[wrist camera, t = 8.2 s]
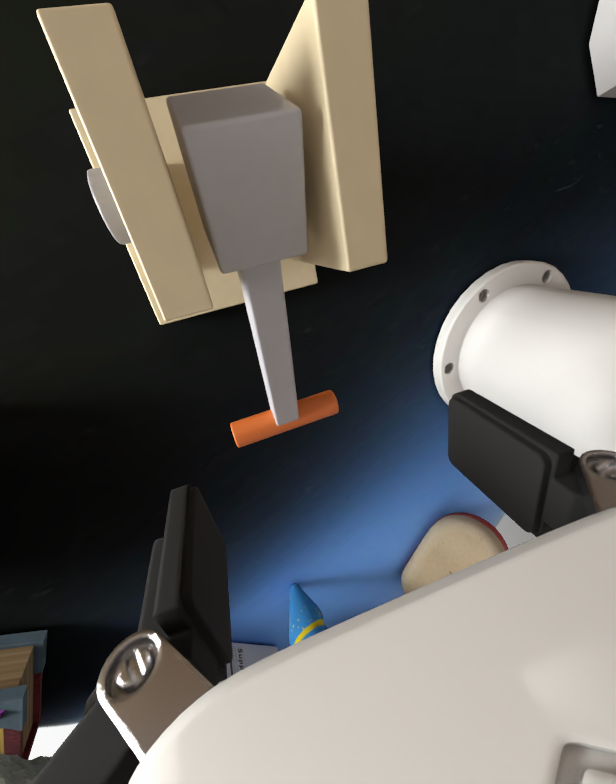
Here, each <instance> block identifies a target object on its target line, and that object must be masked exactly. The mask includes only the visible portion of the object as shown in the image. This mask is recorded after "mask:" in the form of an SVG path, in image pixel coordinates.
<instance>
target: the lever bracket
mask: <svg viewBox="0 0 616 784" xmlns="http://www.w3.org/2000/svg"><path fill="white" fill-rule="evenodd" d="M37 16H38V19H39V21H40V23H41V26H42V28H43V31H44V33H45V35H46V38H47V40H48V43H49V45H50V47H51V50H52V52H53V55H54V57H55V59H56V62H57V64H58V67H59V69H60V71H61V74H62V76H63V79H64V81H65V83H66V86H67V88H68V91H69V93H70V95H71V98H72V100H73V103H74V105H75V107H76V108H73V109H70V110H69V113H70V115H71V117H72V120H73V122H74V124H75V127H76V129H77V131H78V134H79V136H80V138H81V141H82V143H83V146H84V148H85V150H86V153H87V155H88V157H89V160H90V162H91V164H92V167H93V169H89V170H88V171H87V178H88V183H89V186H90V189H91V192H92V195H93V198H94V200H95V203H96V205H97V207H98V209H99V212H100V214H101V216H102V218H103V220H104V222H105V224H106V225H107V227H108V229H109V231H110V232H111V234H112V235H113V237H114V238H115V239H116V240H117V242H118V243H120V244H126V246H127V249H128V251H129V254H130V256H131V258H132V261H133V263H134V265H135V268H136V270H137V272H138V275H139V277H140V279H141V282H142V284H143V286H144V289H145V291H146V293H147V296H148V298H149V300H150V303H151V305H152V307H153V310H154V312H155V315H156V317H157V319H158V322H159V324H160V325H163V324H167V323H171V322H174V321H178V320H182V319H186V318H189V317H193V316H197V315H201V314H204V313H208V312H212V311H215V310H219V309H223V308H227V307H230V306H234V305H238V304H241V303H245V300H244V296H243V292H242V288H241V283H240V279H239V275H238V271H235V272H231V273H227V274H223V273H222V272H221V271H220V269H219V266H218V264H217V261H216V259H215V256H214V254H213V251H212V248H211V246H210V243H209V241H208V238H207V235H206V233H205V230H204V228H203V224H202V221H201V218H200V214H199V211H198V207H197V204H196V201H195V197H194V194H193V191H192V187H191V184H190V181H189V177H188V174H187V171H186V167H185V164H184V160H183V157H182V154H181V150H180V147H179V144H178V140H177V137H176V134H175V130H174V127H173V123H172V120H171V117H170V113H169V110H168V107H167V103H166V99H167V98H168V97H169V96H175V95H182V94H189V93H196V92H203V91H210V90H217V89H224V88H231V87H238V86H245V85H253V84H260V83H263V84H266V85H267V86H269V87H270V88H271V89H273V90H274V91H276V92H277V93H279V94H280V95H282V96H283V97H284V98H286V99H287V100H289V101H290V102H292V103H293V104H294V105H296V106H297V107H299V108H300V109H301V112H302V128H303V150H304V172H305V194H306V217H307V239H308V252H307V253H306V254H303V255H299V256H295V257H291V258H287V259H283V260H280V262H281V270H282V278H283V287H284V292H286V291H290V290H294V289H297V288H301V287H305V286H308V285H312V284H316V283H318V280H317V275H316V269H315V265H319V266H324V267H329V268H333V269H338V270H343V271H347V272H352V271H356V270H359V269H363V268H367V267H371V266H374V265H378V264H382V263H385V262H386V261H387V249H386V235H385V222H384V208H383V195H382V181H381V168H380V154H379V141H378V127H377V114H376V100H375V87H374V73H373V60H372V46H371V33H370V20H369V6H368V0H305V1H304V3H303V5H302V7H301V10H300V12H299V14H298V16H297V18H296V20H295V22H294V24H293V26H292V29H291V31H290V33H289V35H288V37H287V39H286V41H285V43H284V46H283V48H282V50H281V52H280V54H279V56H278V58H277V60H276V63H275V65H274V67H273V69H272V71H271V73H270V75H269V77H268V80H267V81H264V82H257V83H250V84H243V85H235V86H228V87H221V88H214V89H207V90H200V91H193V92H186V93H179V94H172V95H165V96H158V97H151V98H144V95H143V92H142V90H141V87H140V84H139V81H138V78H137V75H136V72H135V69H134V66H133V63H132V61H131V58H130V55H129V52H128V49H127V46H126V43H125V40H124V37H123V34H122V31H121V29H120V26H119V23H118V20H117V17H116V14H115V11H114V8H113V7H112V5H111V4H110V3H101V4H89V5H78V6H66V7H55V8H44V9H38V10H37Z"/></svg>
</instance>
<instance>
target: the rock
mask: <svg viewBox="0 0 616 784" xmlns="http://www.w3.org/2000/svg"><path fill="white" fill-rule="evenodd" d="M51 758H52V757H43V756H40V757H37V758H35V759H33V760H26V759H22V758H21V757H19V756H18V755H6V754H2V753H0V784H31V783H32V781H33V780H34V779H35V778H36V776H37V775H38V774H39V773H40V771H41V770H42V769H43V768H44V766H45V765H46V764H47V763H48V761H49V760H50V759H51Z"/></svg>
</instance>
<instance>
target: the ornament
mask: <svg viewBox="0 0 616 784" xmlns="http://www.w3.org/2000/svg"><path fill="white" fill-rule="evenodd" d="M326 629H328V628H327V627H326V626H325V624H324V620H323V615H322V613H321V611H320V609H319V608H318V606H317V605H316V604H315V603H314V602H313V601H312V600H311V599H310V598H309V597H308V596H307V594H306V593H305V592H304V591H303V590H302V589H301V588H300V587H299V585H297V584H293V585H292V586H291V588H290V611H289V643H290V646H291V645H294V644H296V643H298V642H300V641H302V640H304V639H306V638H309V637H311V636H313V635H315V634H317V633H319V632H322V631H324V630H326Z"/></svg>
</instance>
